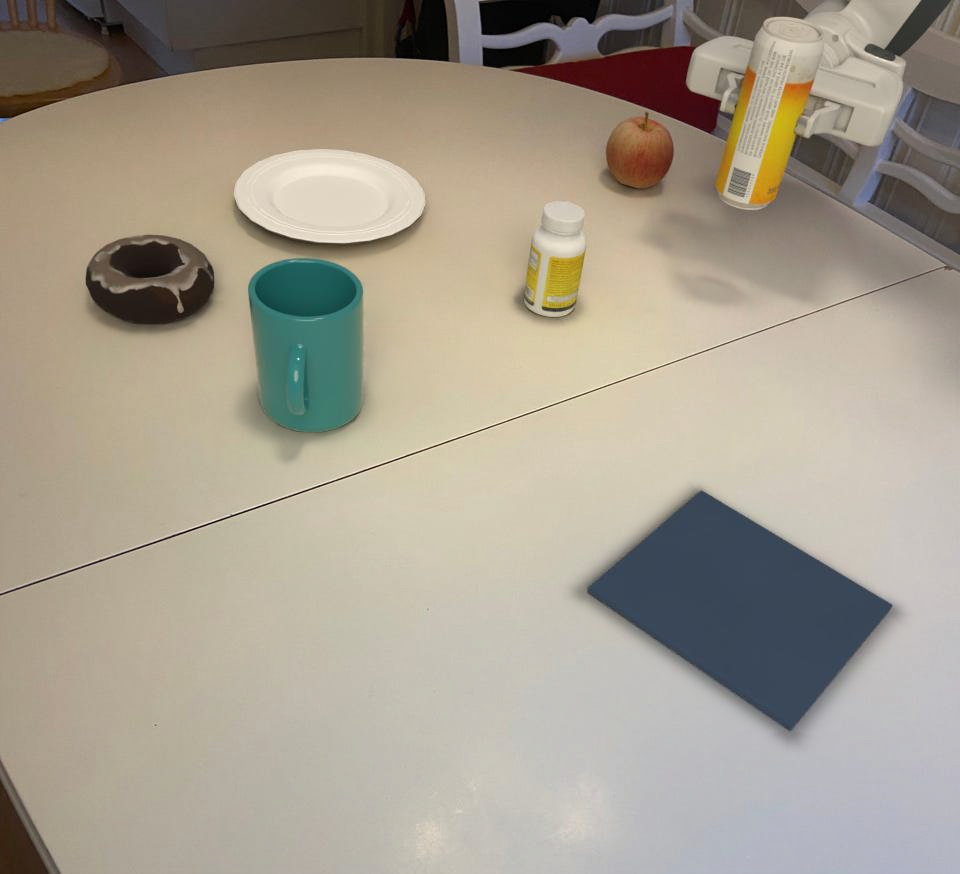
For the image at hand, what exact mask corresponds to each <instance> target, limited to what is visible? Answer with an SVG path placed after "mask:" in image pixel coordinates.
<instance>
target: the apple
mask: <svg viewBox="0 0 960 874" xmlns="http://www.w3.org/2000/svg"><path fill="white" fill-rule="evenodd" d="M649 115H650V113H649V111H645V112H644V116H635V117H630V118H627V119H624V120H623V121H621V122H620V123H618V124H617V125H616V126H615V127H614V129H613V130H612V131H611V133H610V135H609V137H608V140H607V143H606V147H605V159H606V164H607V167H608V170H609V171H610V173H611V175H612V176H613V177H614V179H615V180H616V181H618V182H619V183H620V184H622V185H624V186H629V187H632V188H635V189H647V188H651V187H654V186H655V185H657V184H658V183H660V182H661V181H662V180H663V179H664V177H666V175H667V173H668V172H669V171H670V168H671V166H672V164H673V160H674V154H675V149H674V148H675V147H674V146H675V145H674V142H673V138H672V135H671V133H670V131H669V129H667V128H666V127H665V126H664V125H663V124H661V123H660V122H658V121H657V120H654V119H651V118H649Z"/></svg>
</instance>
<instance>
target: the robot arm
mask: <svg viewBox="0 0 960 874" xmlns="http://www.w3.org/2000/svg"><path fill="white" fill-rule="evenodd" d="M951 2H952V0H825V1H823V2H821V3H820V4H819V5H817V6H816V7H814V9H812V10H811V11H810V12H809V13H808V14H807V15H806V16H805V17H804V18H802V20H805V21H808V22H811V23H813V24H815V25H817V26H819V27H820V28H821V29H822V30H823V31H824V36H823V41H824V51H823V54H822V58H821V61H820V64H819V67H818V70H817V73H816V76H815V79H814V82H813V85H812V88H811V91H810V94H809V97H808V101H807V104H806V107H805V110H804V112H803V113H802V114H801V115H800V116H799V118H798V120H797V126H796V127H795V130H794V134H796V136H800V137H801V138H806V139H810V138H811V136H812V135H818V134H826V135H831V136H833V137H837V138H840V139H843V140H846V141H850V142H853V143H856V144H859V145H863V146H865V147H879V146H881V145H882V144H883V143H884V141H885V139H886V136H887V134H888V132H889V130H890V126H891V124H892V122H893V120H894V117H895V114H896V112H897V109H898V105H899V104H900V101H901V98H902V95H903V92H904V81H903V77H904V73H905V70H906V66H907V61H906V60H905V59H904V58H903V57H902V56H903V55H904V54H905V53H906V52H907V51H908V50H910V48H912V47H913V45H914V44H916V43H917V42H918V40H920V39H921V37H922V36H924V34H925V33H926V32H927V31H928V30H929V28H930V27H931V26H932V25H933V24H934V22H935V21H936V20H937V19H938V18H939V17H940V15H942V13H943V12H944V11H945V9H946V8H947V7H948V6H949V4H951ZM753 43H754V40H750V39H746V38H743V37H739V36H733V35H721V36H718V37H715V38H713V39H711V40H708V41H706V42H703V43H702V44H700V45H699V46H697V47H696V48H695V49H694V50H693V52H692V54H691V57H690V60H689V64H688V68H687V72H686V73H687V74H686V80H685V85H686V87H687V88H688V90H689V91H690V92H691V93H695V94H699V95H701V96H705V97H708V98H711V99H715V100H718V101H721V103H720V107H719V111H721V112H723V113H727V114H729V115H733V116H734V113H735V109H736V106H737V102H738V98H739V95H740V91H741V87H742V84H743V80H744V76H745V73H746V69H747V65H748V62H749V58H750V54H751V51H752V47H753Z"/></svg>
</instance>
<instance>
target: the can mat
mask: <svg viewBox="0 0 960 874" xmlns="http://www.w3.org/2000/svg"><path fill="white" fill-rule="evenodd" d="M587 594H589V595H590V596H592V597H594V598H595V599H596V600H598V601H600V602H601V603H603V604H604V605H606V606H607V607H608V608H609V609H611V610H612V611H614V612H616V613H617V614H619V615H620V616H621V617H623V618H624V619H626V620H627V621H629V622H630V623H631V624H633V625H635V626H636V627H638V628H639V629H641V630H642V631H644V632H645V633H646V634H648V635H649V636H650V637H652V638H654V639H655V640H657V642H659V643H661V644H662V645H664V646H666V648H668V649H670V650H671V651H672V652H674V653H676V654H677V655H679V656H680V657H682V658H683V659H684V660H686V661H688V662H689V663H691V664H692V665H693V666H695V667H696V668H697V669H699V670H701V671H702V672H704V673H705V674H707V675H708V676H710V677H711V678H713V679H714V680H715V681H717V682H718V683H720V684H721V685H723V686H724V687H726V688H727V689H728V690H730V691H731V692H733V693H734V694H736V695H737V696H739V697H740V698H742V699H743V700H744V701H746V702H747V703H749V704H750V705H752V706H753V707H755V708H756V709H758V710H759V711H761V712H762V713H764V714H765V715H767V716H768V717H770V718H771V719H772V720H774V721H775V722H777V723H778V724H781V726H783V727H784V728H786V729H787V730H789V731H792V730H793V729H794V727H796V725H797V724H798V722H800V721H801V719H802V717H803V716H804V715H805V714H806V713H807V712H808V710H809V709H810V708H811V707H812V706H813V704H814V703H815V702H816V700H818V698H819V697H820V696H821V695H822V693H823V692H825V690H826V689H827V687H828V686H829V685H830V684H831V683H832V681H833V680H834V679H835V677H836V676H837V675H839V673H840V671H842V669H843V668H844V667H845V665H846V664H847V663H848V662H849V660H851V658H852V657H853V656H854V654H855V653H856V652H857V651H858V649H860V647H861V646H862V645H863V643H864V642H866V640H867V639H868V638H869V636H870V635H871V634H872V632H874V630H875V629H876V628H877V626H878V625H879V624H880V623H881V622H882V620H883V619H885V617H886V615H887V614H888V613H889V612H890V611H891V609H892V608H893V604H892V603H890V602H888V601H886V600H885V599H884V598H882V597H881V596H879V595H877V594H875V593H874V592H872V591H870V590H869V589H867V588H866V587H863V586H862V585H860V584H859V583H857V582H856V581H854V580H852V579H851V578H849V577H847V576H845V575H844V574H842V573H840V572H839V571H837V570H835V569H834V568H833V567H830V566H828V565H827V564H825V563H824V562H822V561H821V560H819V559H817V558H815V557H813V556H812V555H810V554H809V553H807V552H805V551H803V550H802V549H801V548H799V547H797V546H795V545H793V544H792V543H790V542H789V541H787V540H785V539H783V538H782V537H780V536H779V535H777V534H776V533H774V532H772V531H770V530H769V529H767V528H766V527H764V526H762V525H760V524H758V523H757V522H756V521H754V520H752V519H750V518H749V517H747V516H745V515H744V514H742V513H740V512H739V511H737V510H736V509H733V508H732V507H730V506H729V505H727V504H725V503H724V502H722V501H721V500H719V499H717V498H715V497H713V496H712V495H710V494H709V493H707V492H705V491H704V490H701V489H700V491H699V492H698V493H696V494H695V495H694V496H692V497H691V498H690V499H689V500H688V501H687V502H686V503H684V505H682V506H681V507H680V508H679V509H677V510H676V511H675V512H674V513H673V514H672V515H671V516H670V517H668V518H667V519H666V520H665V521H664V522H663V523H661V524H660V525H659V526H658V527H657V528H656V529H654V530H653V531H652V532H651V533H650V534H649V535H648V536H647V537H645V538H644V539H643V540H642V541H641V542H639V543H638V544H637V545H636V546H634V548H632V549H631V550H630V551H629V552H628V553H627V554H626V555H624V556H623V557H621V559H620V560H619V561H618V562H616V563H615V564H614V565H613V566H611V568H609V569H608V570H607V571H606V572H605V573H604V574H603V575H601V576H600V577H599V578H598V579H597V580H595V581H594V582H593V583H592V584H591V585H590V586H588V588H587Z"/></svg>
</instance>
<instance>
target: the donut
mask: <svg viewBox="0 0 960 874" xmlns="http://www.w3.org/2000/svg"><path fill="white" fill-rule="evenodd" d="M85 285H86V286H85V287H86V288H87V290H88V292H89V295H90V297H91V299H92V300H93V301H94V303H95V304H96V305H97V306H98V307H99V308H101V309H102V310H103V311H104V312H105V313H107V314H109V315H111V316H113V317H115V318H117V319H120V320H122V321H126V322H131V323H133V324H134V323H135V324H144V325H145V324H149V325H156V324H165V323H172V322H175V321H178V320H182V319H185V318H187V317H190V316H191V315H193V314H195V313H197V312H198V311H199V310H200V309H201V308H203V306H204V305H206V304H207V303H208V302H209V300H210V298H211V296H212V294H213V292H214V289H215V271H214V267H213V265H212V264H211V262H210V260H209V259H208V257H207V256H206V254H205V253H204V252H203V251H201V250H200V249H199V248H197V247H196V246H195V245H193V244H192V243H190V242H188V241H186V240H183V239H180V238H177V237H173V236H167V235H161V234H139V235H131V236H128V237H124V238H120V239H117V240H115V241H111V242H110V243H107V244H106V245H104V246H103V247H101V248H100V249H99V250H98V251H96V252H95V253H94V254H93V256H92V257H91V259H90V260H89V262H88V263H87V267H86V271H85Z"/></svg>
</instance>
